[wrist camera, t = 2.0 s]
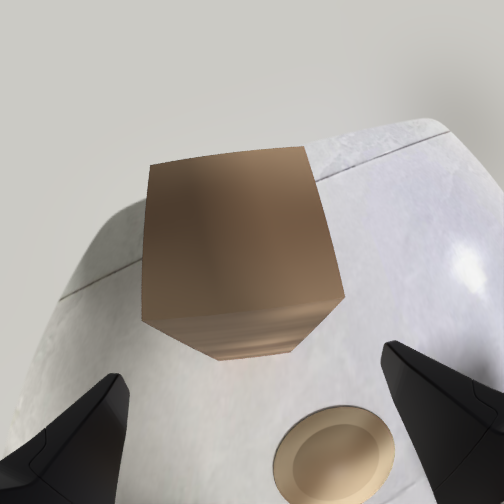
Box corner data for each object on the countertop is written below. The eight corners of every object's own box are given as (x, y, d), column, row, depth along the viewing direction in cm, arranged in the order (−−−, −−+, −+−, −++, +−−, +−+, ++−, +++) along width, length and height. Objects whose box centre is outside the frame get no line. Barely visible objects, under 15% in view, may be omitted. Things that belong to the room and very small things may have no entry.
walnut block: (290, 352, 20) (345, 296, 7) (218, 360, 19) (141, 320, 7) (280, 285, 22) (303, 146, 9) (212, 293, 22) (150, 164, 9)
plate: (413, 431, 16) (414, 432, 16) (350, 525, 13) (351, 526, 13) (318, 386, 18) (318, 386, 18) (248, 485, 15) (248, 486, 15)
